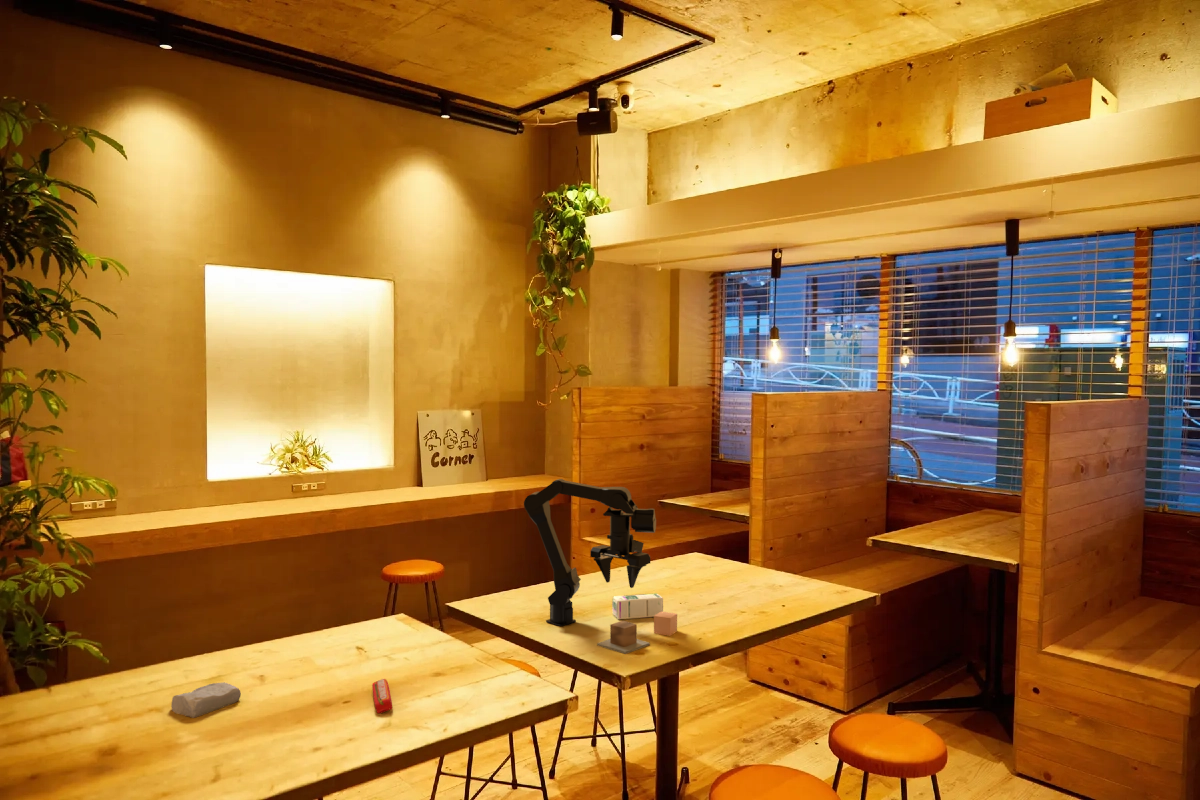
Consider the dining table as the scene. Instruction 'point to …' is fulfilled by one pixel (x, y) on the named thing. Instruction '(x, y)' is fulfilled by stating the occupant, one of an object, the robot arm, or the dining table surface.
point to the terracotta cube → (665, 623)
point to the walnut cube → (623, 633)
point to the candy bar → (382, 696)
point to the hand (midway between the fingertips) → (619, 585)
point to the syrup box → (637, 605)
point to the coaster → (623, 649)
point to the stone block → (205, 699)
